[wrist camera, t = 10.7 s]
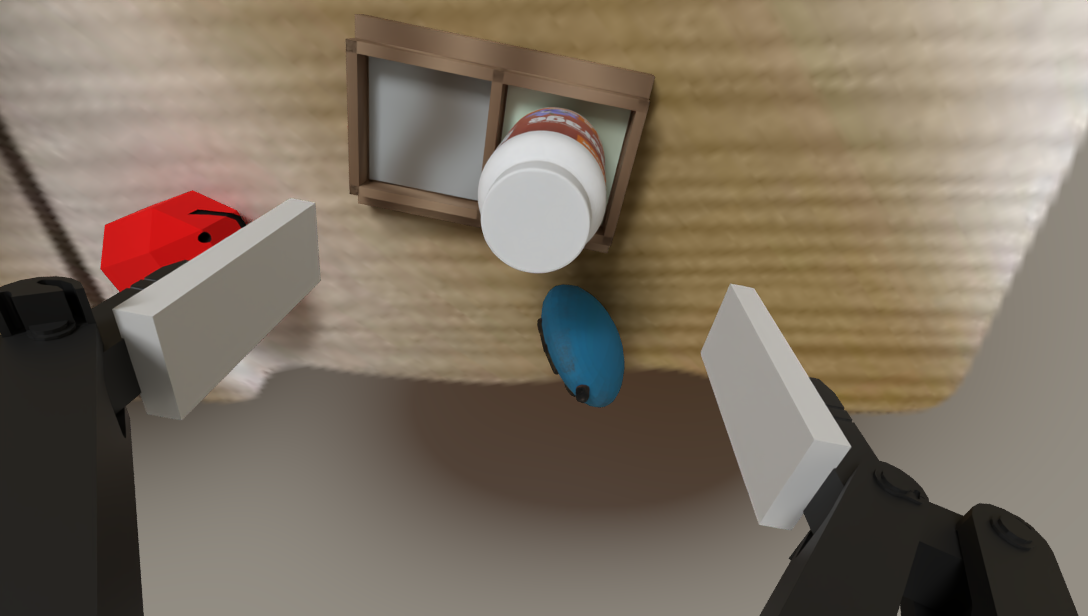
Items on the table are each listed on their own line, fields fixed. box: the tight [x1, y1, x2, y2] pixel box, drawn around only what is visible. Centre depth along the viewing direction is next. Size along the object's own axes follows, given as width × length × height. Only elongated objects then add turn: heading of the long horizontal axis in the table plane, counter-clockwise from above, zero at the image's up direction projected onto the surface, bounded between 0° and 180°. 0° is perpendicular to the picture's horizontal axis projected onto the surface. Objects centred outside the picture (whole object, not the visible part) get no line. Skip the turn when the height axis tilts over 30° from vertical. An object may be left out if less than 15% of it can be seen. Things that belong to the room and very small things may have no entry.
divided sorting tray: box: [346, 14, 655, 253], centre depth 30 cm, size 17×11×3 cm, turn 80°
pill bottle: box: [478, 107, 606, 273], centre depth 25 cm, size 6×6×11 cm
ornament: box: [537, 284, 624, 407], centre depth 33 cm, size 8×5×10 cm, turn 33°
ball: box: [100, 190, 246, 292], centre depth 33 cm, size 8×8×8 cm
